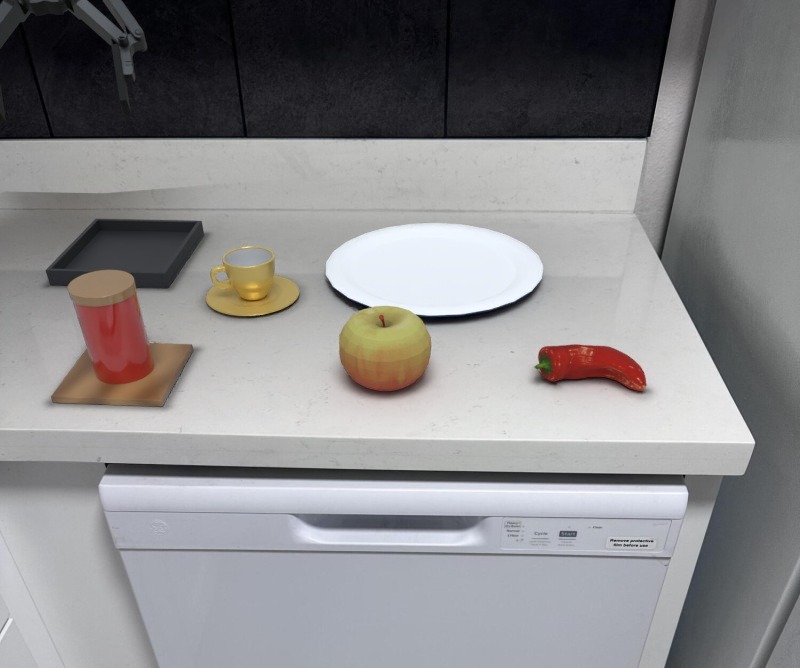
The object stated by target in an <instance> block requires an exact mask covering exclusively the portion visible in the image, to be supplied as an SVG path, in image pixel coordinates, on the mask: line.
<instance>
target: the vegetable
mask: <svg viewBox="0 0 800 668" xmlns="http://www.w3.org/2000/svg"><path fill="white" fill-rule="evenodd" d="M537 361H538V364H536V365H535V366H534V367H533V369H535V370H539V372H540V374H541V376H542V377H543V378H544V379H546V380H547V381H549V382H558V381H563V380H580V379H581V380H582V379H587V378H607V379H611V380H614V381H616V382H618V383H619V384H622V385H623V386H625V388H628V389H630V390H633V391H638V392H642V391H644V390H645V389H647V378H646V374H645V371H644V370H643V368H642V366H641V365H640V364H639V363H638V362H637V361H636V360H635V359H634V358H633V357H631V356H630V355H628V354H627V353H625V352H623V351H621V350H619V349H616V348H614V347H613V346H608V345H594V344H593V345H591V344H576V343H575V344H563V345H561V344H560V345H545V346H543V347H541V348H539V351H538V354H537Z"/></svg>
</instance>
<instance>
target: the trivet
mask: <svg viewBox="0 0 800 668" xmlns="http://www.w3.org/2000/svg"><path fill="white" fill-rule="evenodd" d="M149 345H150V349H151V353H152V357H153V361H154V368H153V370H152V372H151V373H150V374H148V375H147V376H146V377H144V378H142V379H140V380H137V381H134V382H130V383H125V384H110V383H105V382H102V381H100V380H99V379H98V378H97V377H96V375H95V372H94V369H93V366H92V363H91V359H90V356H89V353H88V350H87V348H86V349H85V350H84V352H83V353H82V355H80V357H79V358H78V359H77V361H75V363H74V365H73V366H72V368H71V369H70V370H69V371H68V373H67V374H66V376H64V378H63V379H62V380H61V382H60V384H59V385H58V386H57V387H56V389H55V390H54V391H53V393H52V394H51V395H50V398H51V401H52V403H53V404H76V405H77V404H79V405H81V404H82V405H106V406H108V405H111V406H134V407H135V406H137V407H162V408H163V406H164V404H165V403H166V401H167V399H168V397H169V395H170V394H171V392H172V390H173V388H174V386H175V385H176V383H177V381H178V380H179V377H180V375H181V374H182V372H183V370H184V368H185V367H186V364H187V363H188V361H189V359H190V358H191V355H192V353H193V352H194V347H193V344H191V343H161V342H160V343H159V342H149Z"/></svg>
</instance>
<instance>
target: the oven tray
mask: <svg viewBox="0 0 800 668" xmlns="http://www.w3.org/2000/svg"><path fill="white" fill-rule="evenodd" d="M204 236H205V232H204V226H203V221H202V220H191V219H189V220H187V219H140V218H139V219H137V218H136V219H135V218H132V219H131V218H95V219H93V220H92V222H91V223H90V224H89V225H88V226H87V227H85V229H84V230H83V231H82V232H81V233H80V234H79V235H78V236H77V237H76V238H75V239H74V240H73V241H72V242H71V243H70V244H69V245H68V246H67V247H66V248H65V249H64V251H62V252H61V253H60V255H58V256H57V257H56V259H55V260H54V261H53V262H52V263H51V264H50V265H49V266H48V267H46V269H45V270H44V271H45V274H46V276H47V280H48V283H49V286H61V287H63V286H65V287H68V285H69V283H70V282H71V281H72V280H74V279H75V278H77V277H79V276H81V275H84V274H87V273H90V272H94V271H100V270H120V271H124V272H127V273H129V274H131V275H132V276H133V277H134V280H135V284H136V288H139V289H140V288H142V289H143V288H145V289H169V288H170V286H171V285H172V284H173V282H174V281H175V279H176V277H177V276H178V274H179V273H180V271H181V270H182V269H183V267H184V266H185V264H186V262H187V261H188V259H189V258H190V256H191V255H192V254H193V252H194V251H195V249H196V248H197V246H198V245H199V243H200V242H201V240H202V239H203V237H204Z"/></svg>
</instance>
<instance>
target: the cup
mask: <svg viewBox="0 0 800 668" xmlns="http://www.w3.org/2000/svg"><path fill="white" fill-rule="evenodd" d="M275 256H276V255H275V253H274V251H273V250H271V249H270V248H267V247H264V246H257V245H246V246H240V247H235V248H232V249H230V250H228V251H227V252H225V253H224V254H223V256H222V258H221V260H222V264H219V265H215V266H213V267H212V268H211V269H210V271H209V277H210V280H211V282H212V284H213V286H212V287H211V288H210V289H209V290H208V291H207V293H206V296H205V301H206V303H207V305H208V307H210V308H211V309H213V310H214V311H217V312H219V313H222V314H226V315H230V316H237V317H252V316H260V315H261V316H262V315H266V314H270V313H274V312H278V311H280V310H283V309H285V308H287V307H289V306H290V305H292V304H293V303H294V302H295V301H297V299H298V298H299V296H300V288H299V286H298V284H296V282H294V281H293V280H291V279H290V278H287V277H285V276H282V275H276V274H275V270H276V269H275V267H276V264H275V262H276V261H275V260H276V259H275V258H276V257H275ZM218 273H225V274H226V277H227V279H224V280H222V281H219V280H218V279H217V274H218Z"/></svg>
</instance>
